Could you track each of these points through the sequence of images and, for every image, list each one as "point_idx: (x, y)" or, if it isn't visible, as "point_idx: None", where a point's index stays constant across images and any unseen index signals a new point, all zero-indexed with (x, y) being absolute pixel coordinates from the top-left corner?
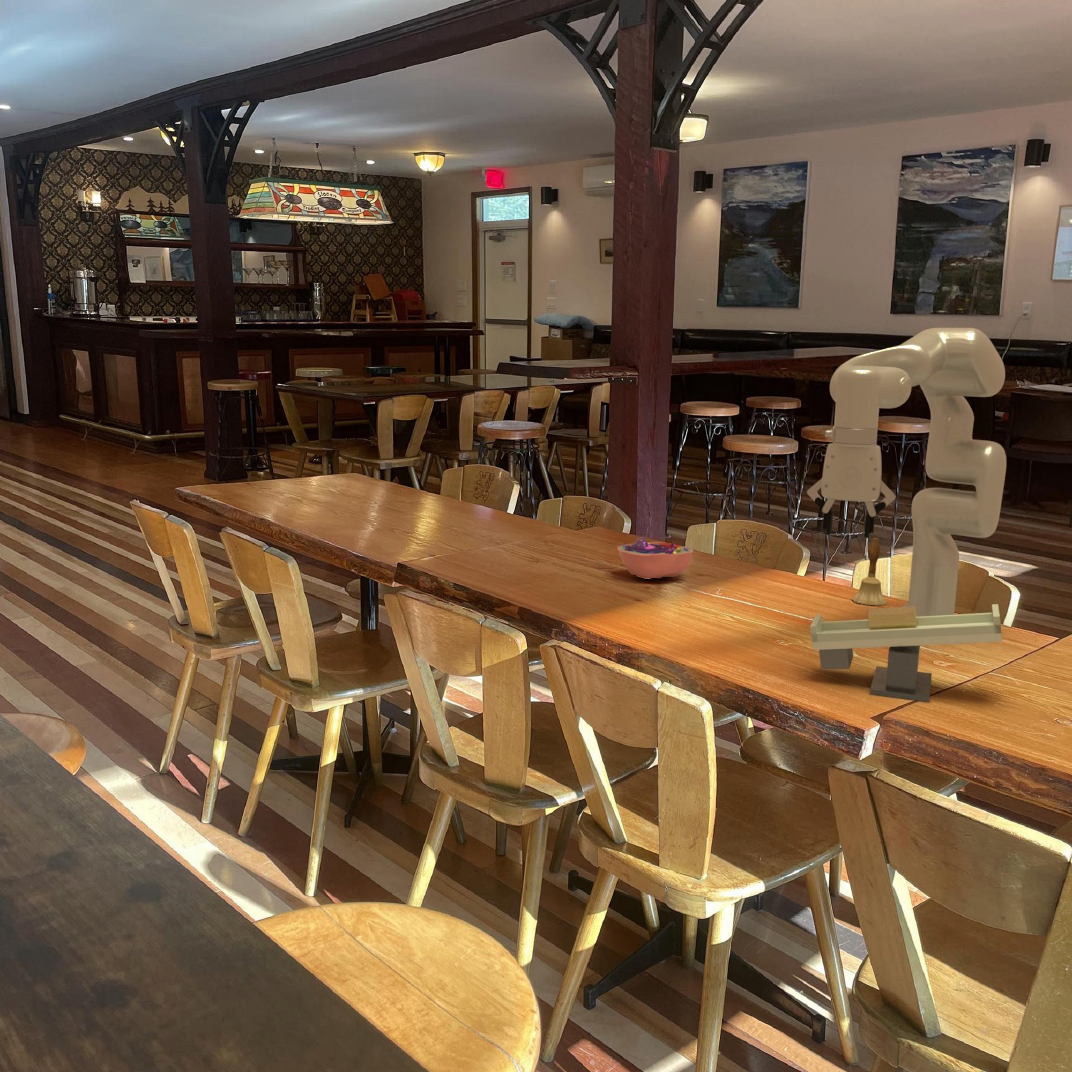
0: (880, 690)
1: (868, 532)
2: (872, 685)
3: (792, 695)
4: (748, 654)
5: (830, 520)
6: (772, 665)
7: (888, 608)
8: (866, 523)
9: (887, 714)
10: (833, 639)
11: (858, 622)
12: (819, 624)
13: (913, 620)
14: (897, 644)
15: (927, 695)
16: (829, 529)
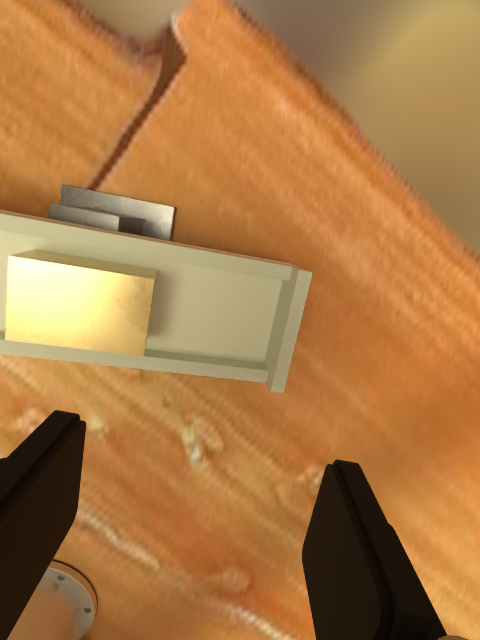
0: (155, 203)
1: (37, 430)
2: (168, 230)
3: (327, 163)
4: (388, 396)
5: (366, 548)
6: (348, 340)
7: (89, 341)
8: (14, 481)
9: (151, 89)
10: (249, 257)
11: (179, 359)
12: (279, 334)
13: (24, 254)
14: (93, 227)
15: (65, 192)
16: (345, 484)
